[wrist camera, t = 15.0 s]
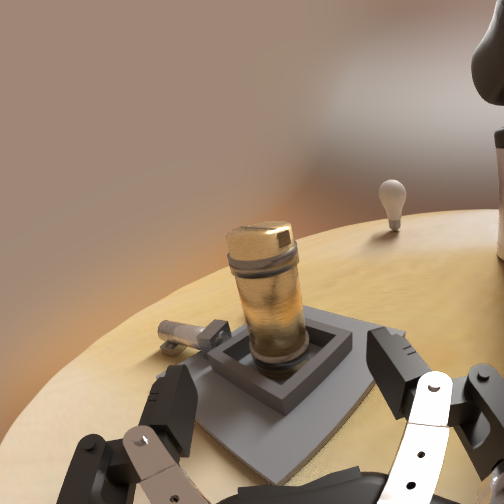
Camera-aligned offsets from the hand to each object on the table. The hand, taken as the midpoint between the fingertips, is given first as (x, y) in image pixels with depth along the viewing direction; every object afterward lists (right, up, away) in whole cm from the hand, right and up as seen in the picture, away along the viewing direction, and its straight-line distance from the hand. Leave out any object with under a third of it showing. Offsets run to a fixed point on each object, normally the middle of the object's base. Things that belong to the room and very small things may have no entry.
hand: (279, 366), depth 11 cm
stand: (+2, -6, +12) cm, 14 cm away
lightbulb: (+30, +9, +43) cm, 53 cm away
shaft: (-7, -6, +17) cm, 19 cm away
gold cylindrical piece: (+2, -5, +12) cm, 13 cm away
